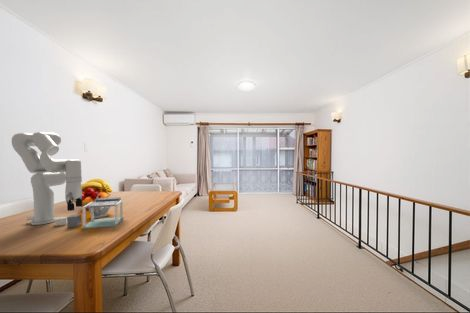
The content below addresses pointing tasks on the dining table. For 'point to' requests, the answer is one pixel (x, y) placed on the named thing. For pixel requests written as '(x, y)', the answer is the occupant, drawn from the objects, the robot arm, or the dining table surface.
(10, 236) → the dining table surface
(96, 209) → the crystal
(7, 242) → the dining table surface
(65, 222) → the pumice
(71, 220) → the basalt stone
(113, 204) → the trapdoor
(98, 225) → the frame
